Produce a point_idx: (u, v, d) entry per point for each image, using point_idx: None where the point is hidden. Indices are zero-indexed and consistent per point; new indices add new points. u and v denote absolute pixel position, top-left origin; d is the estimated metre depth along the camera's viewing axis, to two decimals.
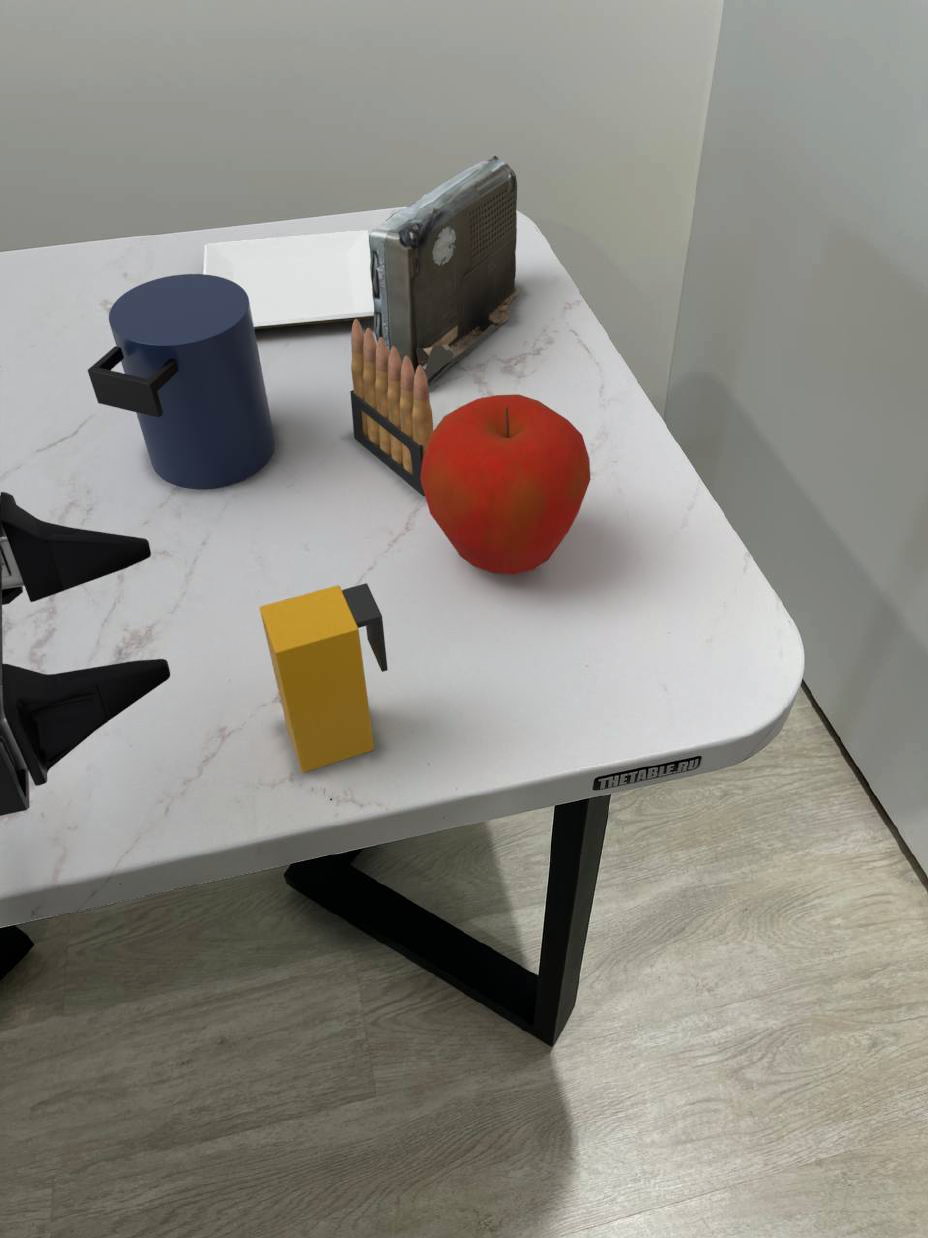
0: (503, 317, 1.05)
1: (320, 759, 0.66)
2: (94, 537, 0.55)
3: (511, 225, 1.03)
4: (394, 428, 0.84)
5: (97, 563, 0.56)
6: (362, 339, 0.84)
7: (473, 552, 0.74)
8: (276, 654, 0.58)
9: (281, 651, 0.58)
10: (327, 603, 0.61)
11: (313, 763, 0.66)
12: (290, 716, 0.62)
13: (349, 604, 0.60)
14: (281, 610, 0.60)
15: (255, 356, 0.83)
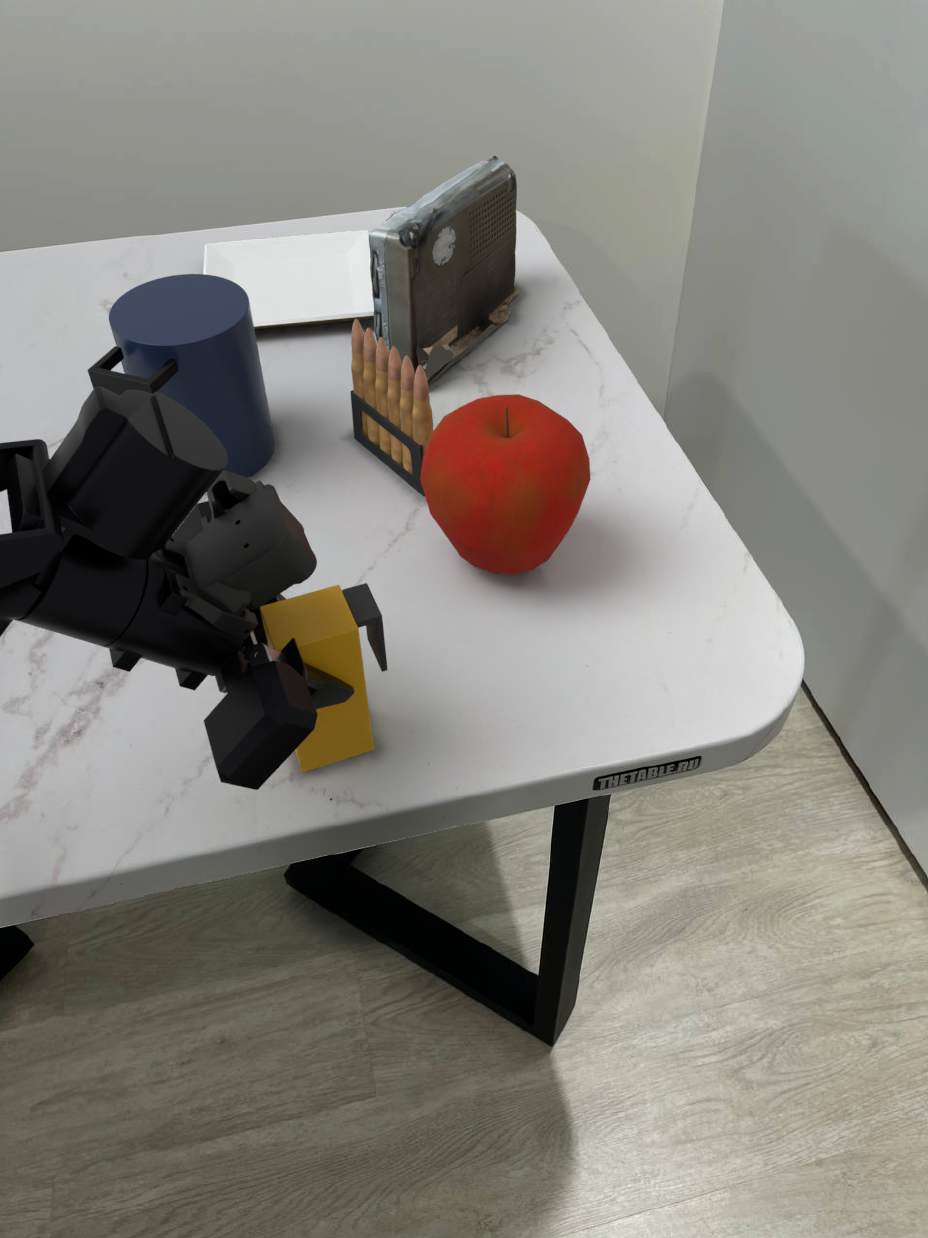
0: (503, 316, 1.05)
1: (320, 759, 0.66)
2: None
3: (511, 225, 1.03)
4: (394, 428, 0.84)
5: None
6: (362, 339, 0.84)
7: (473, 552, 0.74)
8: None
9: None
10: (327, 603, 0.61)
11: (313, 762, 0.66)
12: None
13: (349, 604, 0.60)
14: (281, 610, 0.60)
15: (255, 356, 0.83)
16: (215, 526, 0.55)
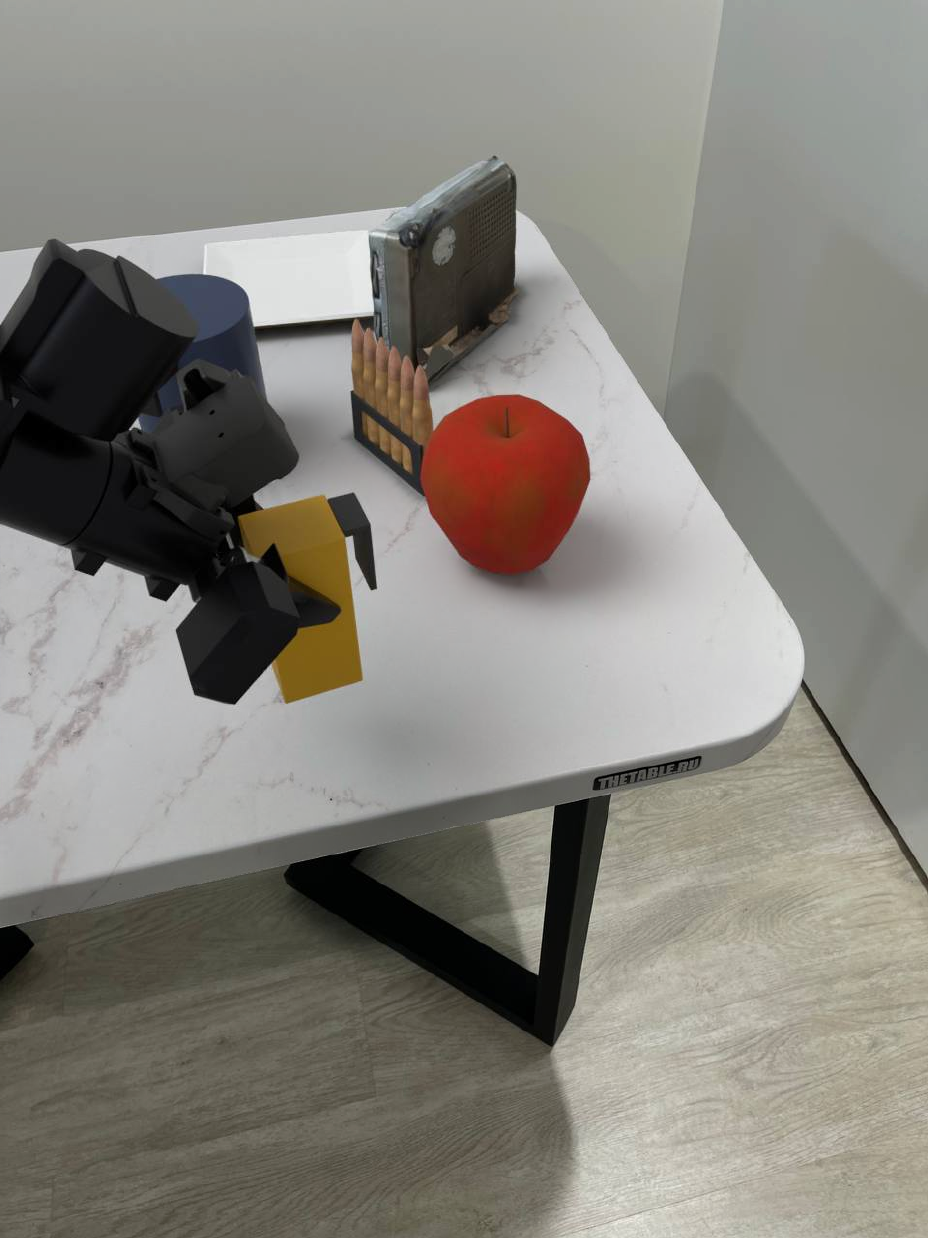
0: (503, 316, 1.05)
1: (305, 689, 0.62)
2: None
3: (511, 225, 1.03)
4: (394, 428, 0.84)
5: None
6: (362, 339, 0.84)
7: (473, 552, 0.74)
8: None
9: None
10: (311, 512, 0.56)
11: (297, 693, 0.62)
12: None
13: (335, 513, 0.56)
14: (261, 519, 0.55)
15: (255, 356, 0.83)
16: (187, 418, 0.50)
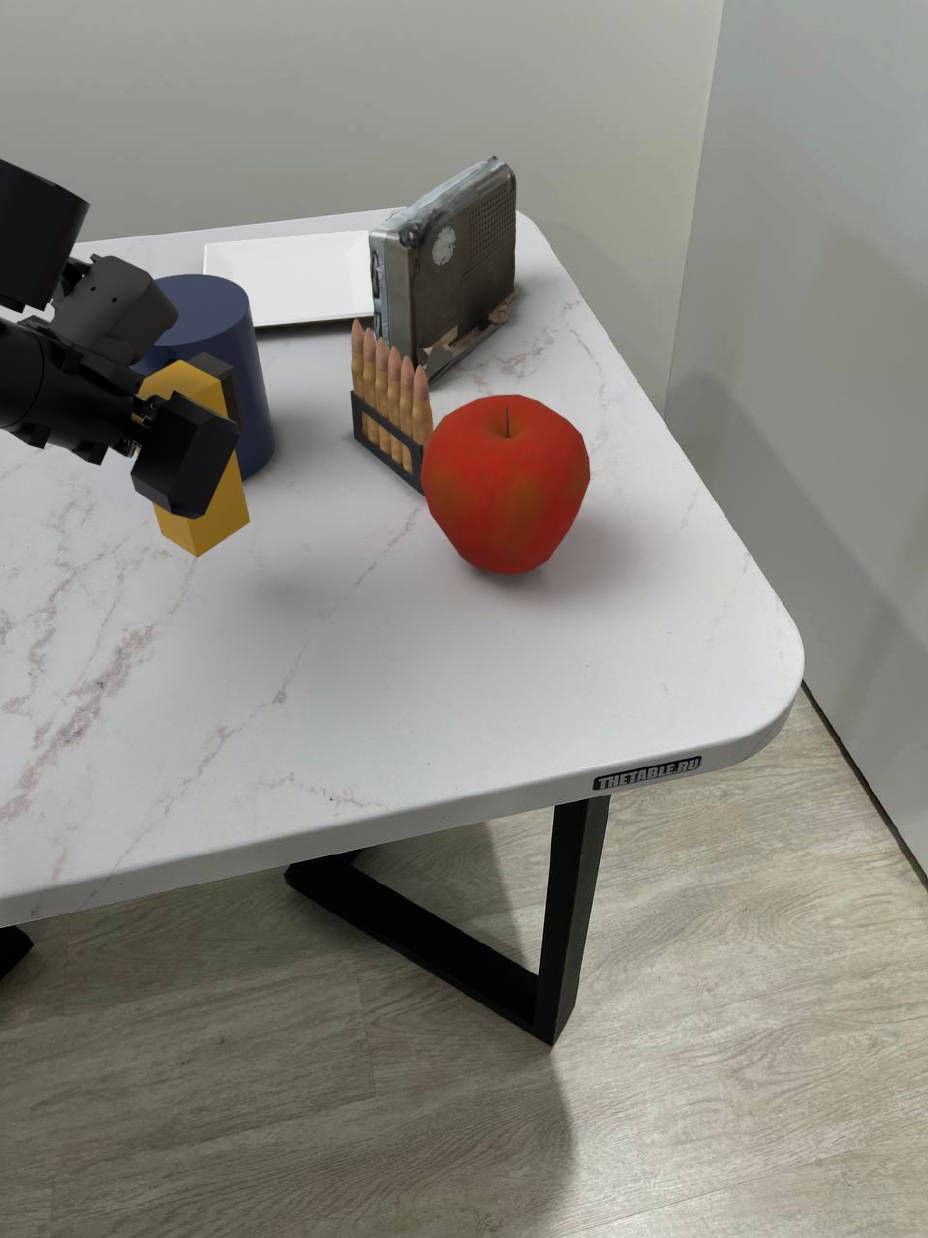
0: (503, 316, 1.05)
1: (210, 539, 0.71)
2: None
3: (511, 225, 1.03)
4: (394, 428, 0.84)
5: None
6: (362, 339, 0.84)
7: (473, 552, 0.74)
8: None
9: None
10: (179, 373, 0.66)
11: (205, 544, 0.71)
12: None
13: (199, 368, 0.66)
14: (141, 389, 0.64)
15: (255, 356, 0.83)
16: (70, 301, 0.58)
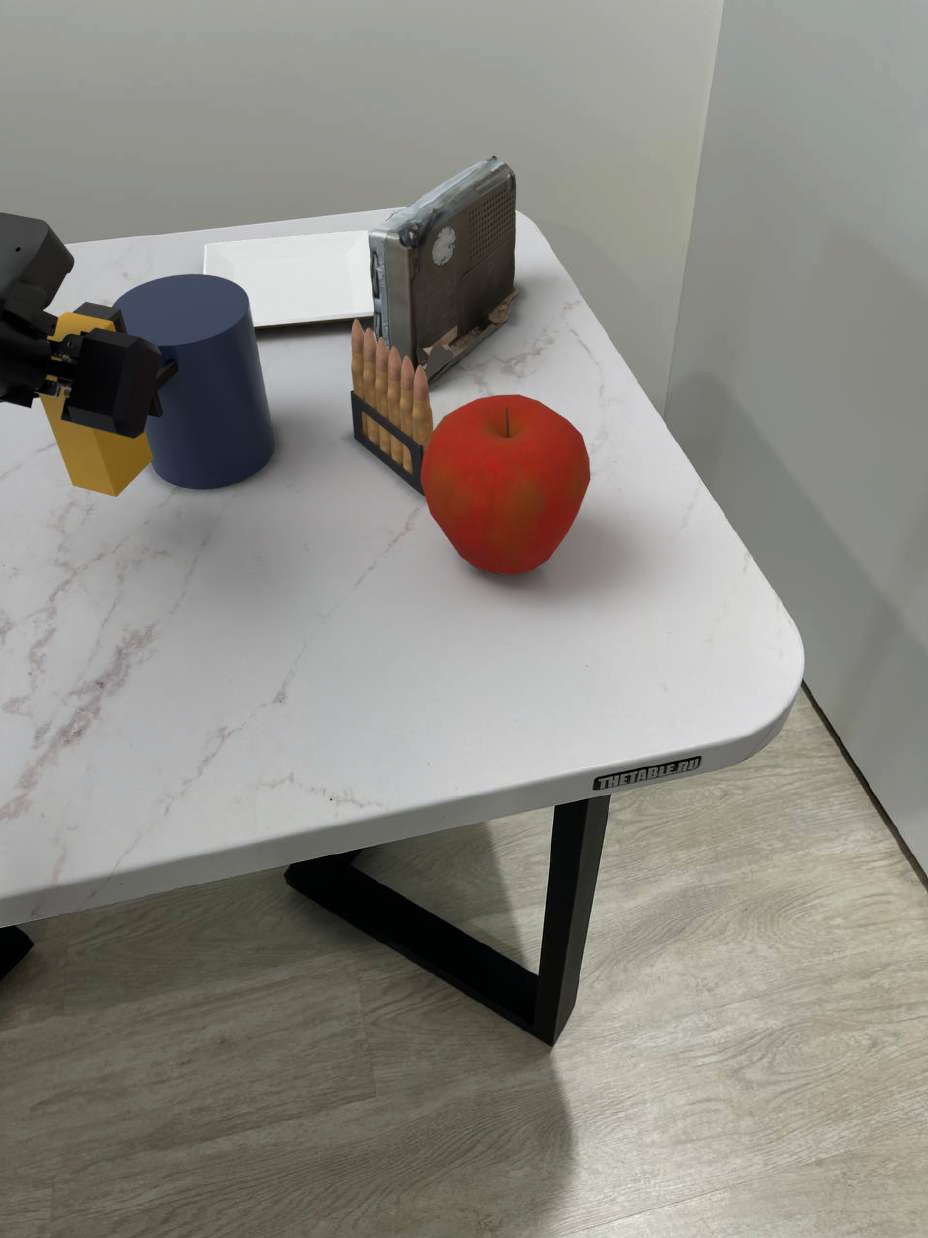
0: (502, 316, 1.05)
1: (124, 478, 0.76)
2: None
3: (510, 225, 1.03)
4: (394, 428, 0.84)
5: None
6: (362, 339, 0.84)
7: (473, 552, 0.74)
8: None
9: None
10: (71, 322, 0.70)
11: (120, 483, 0.76)
12: (94, 431, 0.72)
13: (88, 315, 0.71)
14: None
15: (255, 356, 0.83)
16: None
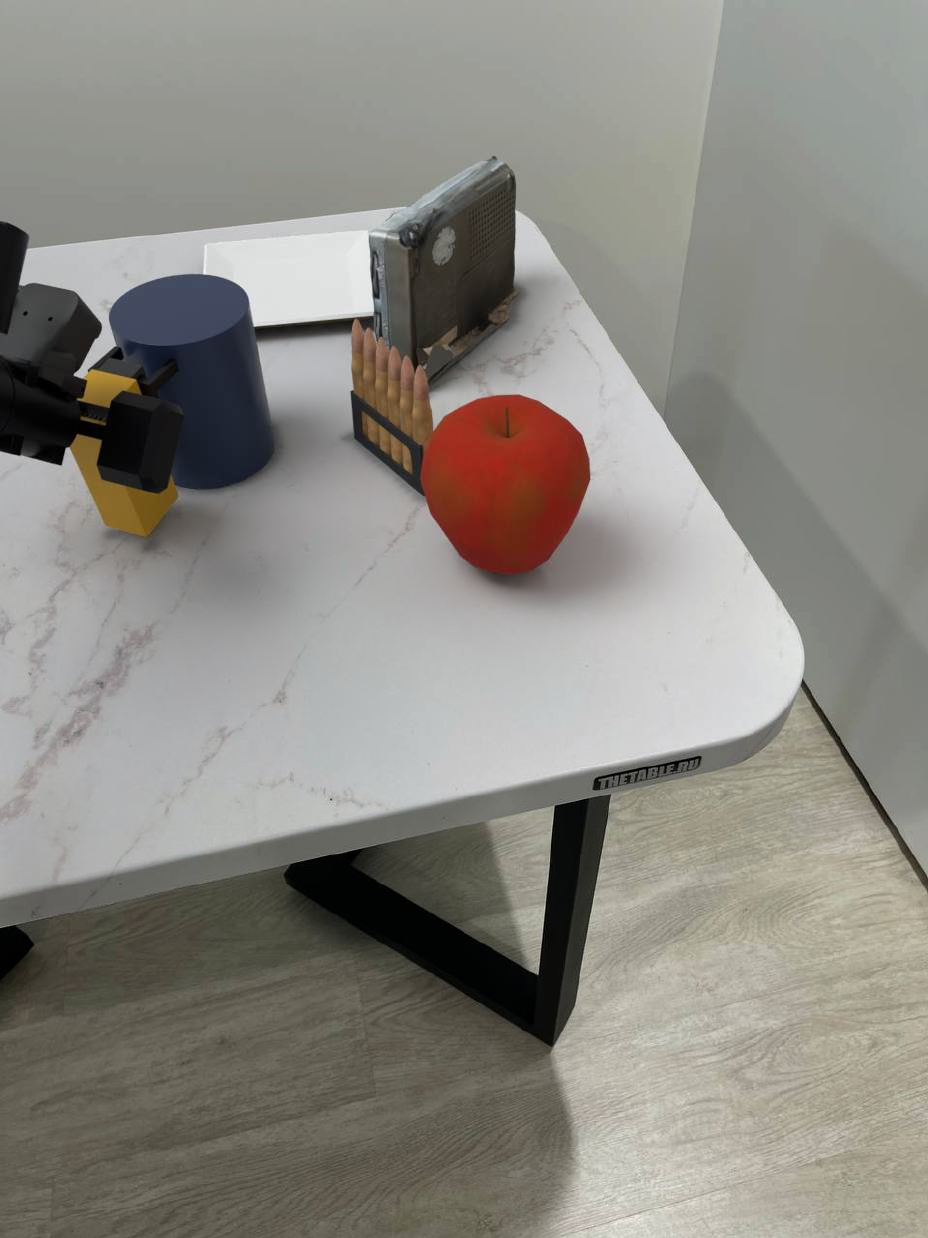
0: (502, 316, 1.05)
1: (153, 518, 0.81)
2: None
3: (510, 225, 1.03)
4: (394, 428, 0.84)
5: None
6: (362, 339, 0.84)
7: (473, 552, 0.74)
8: (98, 423, 0.72)
9: None
10: (97, 381, 0.75)
11: (150, 524, 0.81)
12: None
13: (113, 373, 0.75)
14: None
15: (255, 356, 0.83)
16: None
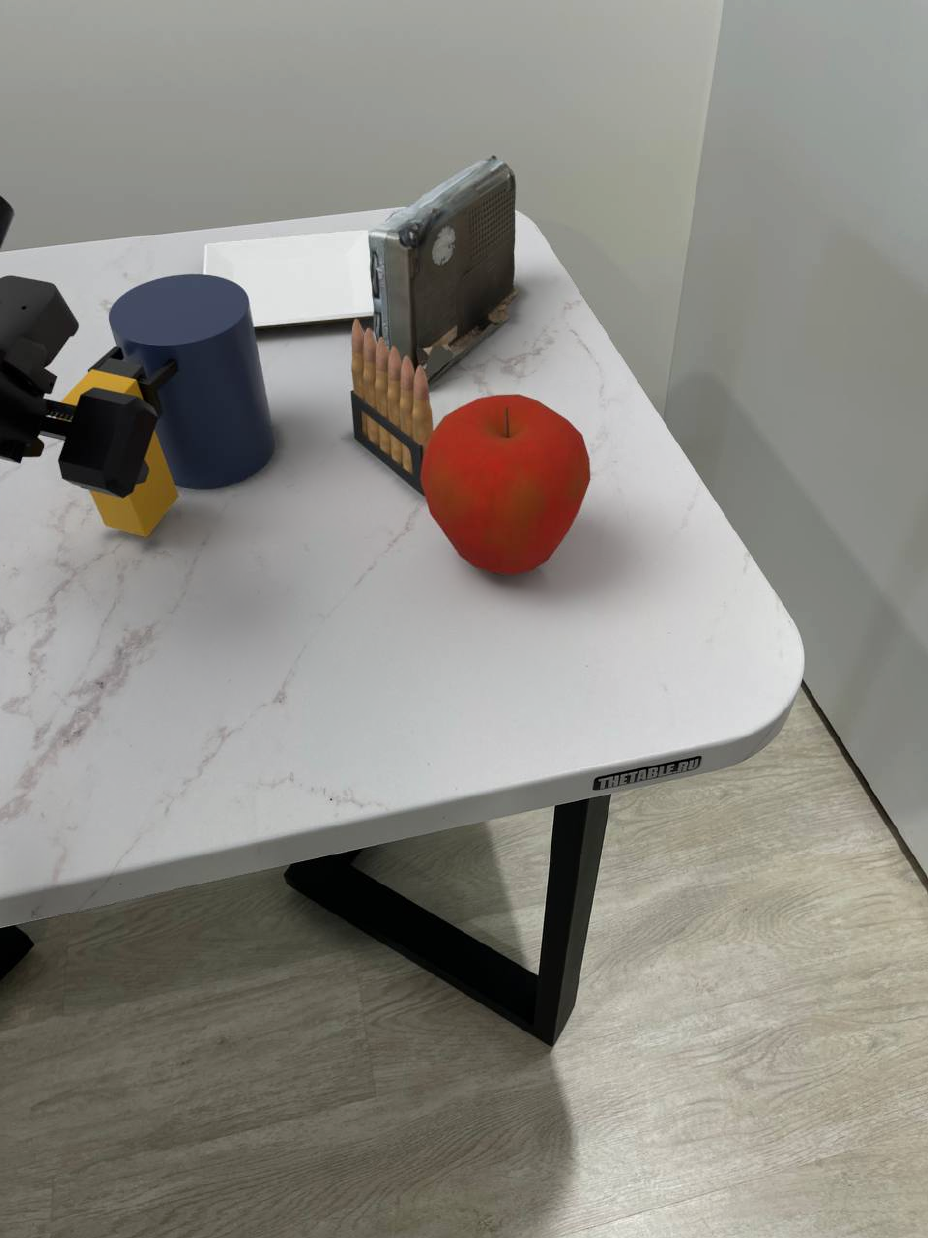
0: (502, 316, 1.05)
1: (153, 518, 0.81)
2: None
3: (510, 224, 1.03)
4: (394, 428, 0.84)
5: None
6: (362, 339, 0.84)
7: (473, 552, 0.74)
8: None
9: None
10: (97, 381, 0.75)
11: (150, 524, 0.81)
12: None
13: (113, 373, 0.75)
14: (71, 402, 0.73)
15: (255, 356, 0.83)
16: None
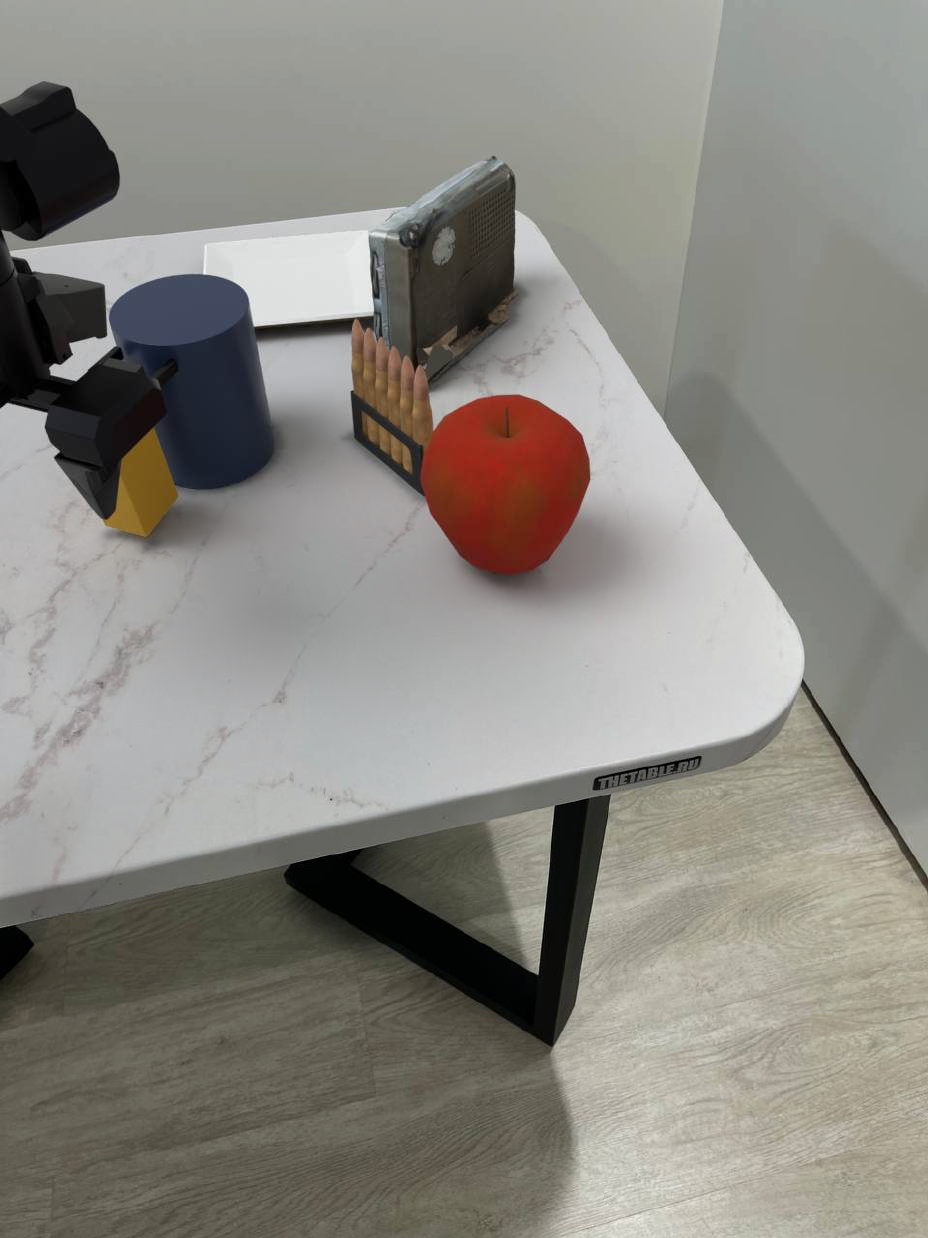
0: (502, 316, 1.05)
1: (153, 518, 0.81)
2: None
3: (510, 225, 1.03)
4: (394, 428, 0.84)
5: None
6: (362, 339, 0.84)
7: (473, 552, 0.74)
8: None
9: None
10: None
11: (150, 524, 0.81)
12: (123, 482, 0.77)
13: None
14: None
15: (255, 356, 0.83)
16: None
